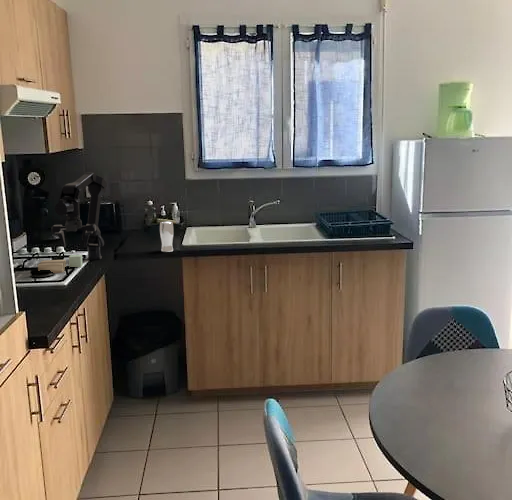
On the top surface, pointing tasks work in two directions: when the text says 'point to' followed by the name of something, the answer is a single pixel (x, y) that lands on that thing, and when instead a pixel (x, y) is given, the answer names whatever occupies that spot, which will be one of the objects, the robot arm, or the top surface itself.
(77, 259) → the sage cube
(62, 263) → the oak block
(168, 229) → the beer glass
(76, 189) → the robot arm
